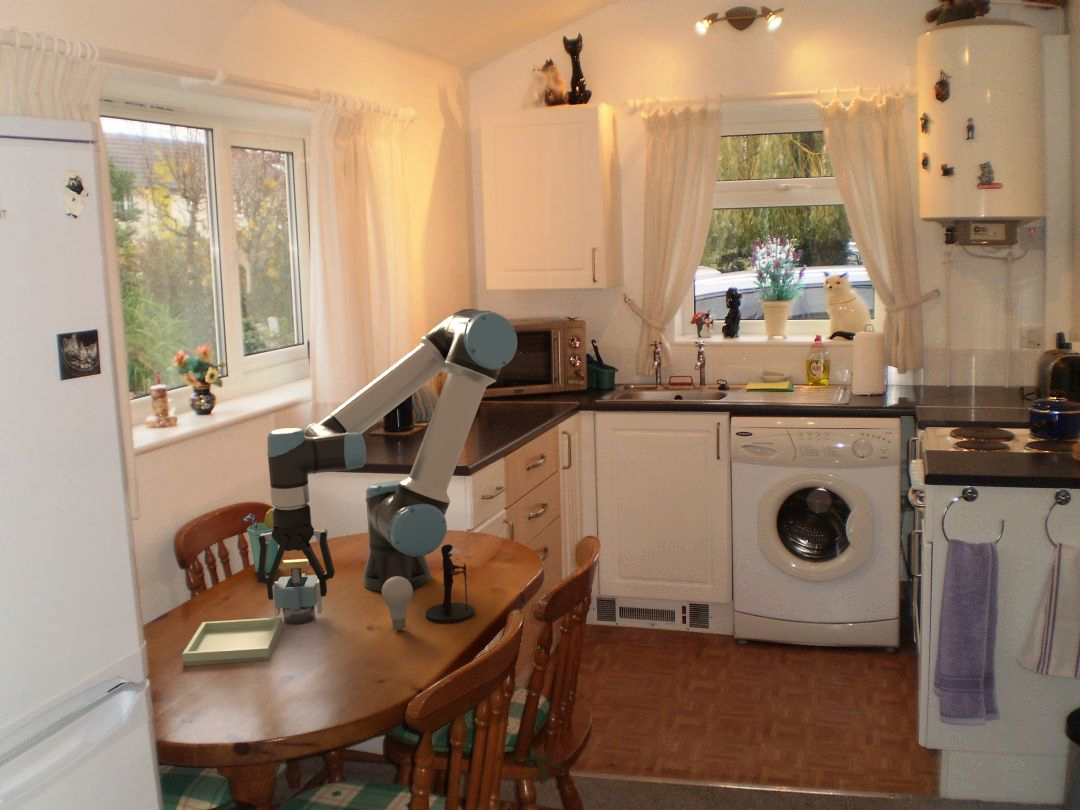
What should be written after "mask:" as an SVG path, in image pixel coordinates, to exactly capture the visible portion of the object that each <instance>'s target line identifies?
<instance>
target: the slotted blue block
mask: <svg viewBox="0 0 1080 810" xmlns="http://www.w3.org/2000/svg"><path fill="white" fill-rule="evenodd" d="M317 579H318V577H317V576H316V574H309V575H306V573H305V572H304V573H303V572H302V585H303V586H302V587H292V586H291V575H290V576H280V577H279V578H278V580H277V581H278V582H277V584H276V586H275V588H274V598H275V608H280V609H283V608H289V610H299V609H300V607H307V606H315V607H317V606H316V605H317V594H316V581H317Z"/></svg>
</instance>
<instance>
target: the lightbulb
mask: <svg viewBox="0 0 1080 810" xmlns="http://www.w3.org/2000/svg"><path fill="white" fill-rule="evenodd" d="M413 593H414V589H413V588H412V585H411V583H410V582H409V581H408V580H407V579H405V578H404V577H400V576H395V577H392V578H390V579H388V580H387V581H386V582H385V583H384V585H383V587H382V591H381V598H382V600H383V601H384V603H385V604H386V606H387V608H388V610H389V613H390V618H391V621H392V628H393V629H394V630H396V631H402V630H403V629H405V628H406V624H407V623H406V622H407V621H406V620H407V616H408V614H407V613H408V606H409V605H410V602H411V600H412V598H413Z"/></svg>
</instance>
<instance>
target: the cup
mask: <svg viewBox="0 0 1080 810" xmlns="http://www.w3.org/2000/svg"><path fill="white" fill-rule="evenodd" d="M272 509H273V508H269V510H267V512H265V516H264V521H263V522H258V523H257V519H256V518H255V515H254V514H252V513H248V515H247V516H246V517H244V518H243V519H242V521H241V522H242V523H243V524H245V523H247V522H248V521H249V520H250V519H251V522H252V524H251V525H249V526H248V527H247V529H246V533H247V534H248V537H249V542H250V549H251V553H252V559H253V565H254V571H255V573H256V574H258V567H259V557H260V548H261V547H260V543H259V540H258V538H259V536H260V535H261V533H265V534H266V533H271V532H272V531H273V513H272ZM278 549H279V544H278V543H277V542H276V541H275V540H274V539H273V538H271V542H270V543H269V544H268V555H267V564H266V574H270V571H271V568H272V566H273V563H274V560H275V558H276V555H277V552H278Z"/></svg>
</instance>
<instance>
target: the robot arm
mask: <svg viewBox="0 0 1080 810" xmlns="http://www.w3.org/2000/svg"><path fill="white" fill-rule="evenodd" d="M517 337H518V336H517V332H516V330H515V327H514V326H513V324H512V323H511V322H510V321H509V320H508V318H506V317H504V316H503V315H501V314H499V313H497V312H494V311H492V310H478V309H475V308H465V309H460V310H458V311H455V312H454V313H452V314H450V315H449V316H448V317H446V318H445V319H444V320H442V321H441V322H440V323H439V324H437V325H435V326H434V328H432V329H431V330H429V331H428V332H426V334H425V335H423V336H421V338H420V344H419V345H418V346H417V347H415V348H414V349H413V350H411V351H410V352H409V353H408V354H406V355H405V356H403V357H402V358H401V359H400V360H399V361H397V362H396V363H394V364H393V365H392V366H391V367H390V368H388V369H386V371H384V372H383V373H382V374H380V376H378V377H377V378H375V379H374V380H373V381H372V382H370V383H369V384H368V385H366V386H365V387H364V388H363V389H361V390H360V391H358V392H357V393H356V394H355V395H353V396H352V397H350V398H349V399H348V400H347V401H346V402H344V403H343V404H342V405H340V406H339V407H338V408H337V409H335V410H334V411H332V413H330V414H328V415H327V416H326V417H325V418H323V419H322V420H321V421H317V422H313V423H310V424H308V425H307V426H306V427H304V429H302V428H299V427H291V428H289V427H285V428H278V429H274V430H271V432H269V433H268V435H267V453H266V455H267V462H268V471H269V473H268V474H269V482H270V484H269V485H270V500H271V502H270V503H271V505H272V506H273V509H272V513H273V531H272V532H271V533H266V534H265V533H261V535H260V536H259V538H258V540H259V543H260V547H261V548H260V557H259V567H258V573H257V583H260V584H261V583H262V584H265V585H266V589H267V598H268V600H272V601H273V611H274V612H273V613H274V617H279V616H280V613H281V608H275V598H274V588H275V586H276V584H277V582H278V580H276V581H275V578H276V576H277V573H278V572H279V568H280V565H281V564H282V561H283V557H284V555H285V552H291V551H301V552H302V553H303V555H305V557H306V559H308V561H309V566H311V569H312V570H313V572H314V575H316V576H317V577H318V579H317V581H316V594H317V603H316V605H317V606H316V607H317V614H322V613H323V611H324V602H323V597H326V595H327V593H328V586H327V585H328V584H327V581H328V580H330V579H333V578H334V576H335V568H334V564H333V559H332V555H331V552H330V547H329V544H328V530H327V529H326V528H325V529H322V530H320V529H315V528H314V527H313V525H312V515H311V513H312V512H311V505H310V504H309V503H310V501H311V500H310V499H311V498H310V489H309V475H315V474H320V473H321V474H322V473H323V474H324V473H329V472H337V471H338V472H340V471H350V470H355V469H358V468H360V469H361V468H363V466H364V465H366V461H367V447H366V442H365V439H364V436H363V435H362V434H364V432H366V431H367V430H369V428H370V427H372V426H373V425H375V424H376V423H378V422H379V421H380V420H381V419H382V418H384V417H385V416H386V415H388V414H389V413H390V412H391V411H393V410H394V409H395V408H396V407H398V406H399V405H401V403H403V402H405V401H406V400H407V399H408V398H409V397H411V396H412V395H413V394H415V393H416V392H417V391H419V390H420V389H421V388H422V387H424V386H425V385H426V384H428V383H429V382H430V381H431V380H432V379H434V378H435V377H437V376H438V375H439V374H441V373H442V372H444V373H448V374H447V377H446V379H445V382H444V384H443V387H442V390H441V392H440V394H439V397H438V400H437V402H436V405H435V408H434V410H433V413H432V416H431V418H430V421H429V423H428V426H427V428H426V431H425V433H424V436H423V438H422V441H421V444H420V447H419V450H418V452H417V455H416V456H415V460H414V463H413V466H412V468H411V470H410V473H409V475H408V476H407V478H405V479H399V480H388V481H381V482H377V483H372V484H369V485H368V486H367V488H366V491H365V498H364V500H365V502H366V517H367V531H368V543H369V546H368V547H369V552H368V556H367V559H366V563H365V567H364V570H363V575H362V577H363V586H364V587H365V588H367V589H369V590H372V591H377V592H382V587H383V585H384V583H385V582H386V581H387V580H388V579H390V578H392V577H395V576H400V577H404V578H405V579H407V580H408V581H409V582H410V583H411V585H412V588H413V590H416V589H419V588H421V587H424V586H426V585H428V584H429V583H430V582H431V581H432V571H431V567H430V566H429V565H430V564H429V562H428V560H427V557H426V556H427V555H429V554H432V553H433V552H434V551H436V550H437V549H438V548H439V547H441V545H442V544H443V542H444V540H445V539H446V536H447V531H448V525H447V519H446V514H447V511H448V509H449V505H450V502H451V499H450V496H449V495H448V488H449V485H450V483H451V480H452V478H453V475H454V472H455V470H456V467H457V464H458V461H459V459H460V457H461V454H462V452H463V449H464V446H465V443H466V440H467V439H468V436H469V433H470V432H471V431H470V430H471V428H472V425H473V422H474V420H475V417H476V415H477V412H478V410H479V406H480V405H481V401H482V399H483V396H484V393H485V390H486V389H487V387H488V386H490V385H492V384H493V383H496V382H497V379H498V377H499V375H500V371H501V370H502V368H503V367H505V366H506V365H508V364H509V363H510V362H511V361H512V359H513V358H514V357H515V354H516V352H517V349H518V338H517ZM313 537H315V539H316V541H317V542H319V547H320V553H321V556H322V559H323V563H324V566H325V570H324V568H323V567H322V564H321V562H320V561H319V559H318V558H317V555H316V553H315V551H314V550H313V548H312V545H311V543H310V541H311V539H312V538H313ZM271 538H273V539H274V540H275V541H276V542H277V543H278V552H277V555H276V558H275V560H274V563H273V566H272V568H271V571H270V573H268V575H267V573H266V564H267V555H268V544H269V543H270V542H271Z"/></svg>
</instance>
